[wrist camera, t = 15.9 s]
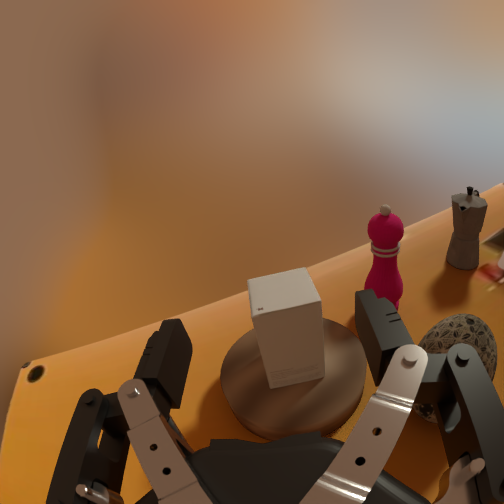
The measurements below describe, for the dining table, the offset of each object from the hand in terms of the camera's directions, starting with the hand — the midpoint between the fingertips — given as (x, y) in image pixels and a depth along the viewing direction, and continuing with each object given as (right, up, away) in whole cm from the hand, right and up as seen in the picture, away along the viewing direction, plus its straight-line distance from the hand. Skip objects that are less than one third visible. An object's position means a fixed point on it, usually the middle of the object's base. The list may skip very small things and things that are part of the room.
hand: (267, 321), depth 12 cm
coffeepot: (+50, +1, +42) cm, 65 cm away
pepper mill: (+23, -7, +36) cm, 44 cm away
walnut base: (+6, -16, +26) cm, 31 cm away
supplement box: (+5, -12, +24) cm, 27 cm away
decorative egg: (+24, -17, +16) cm, 34 cm away
